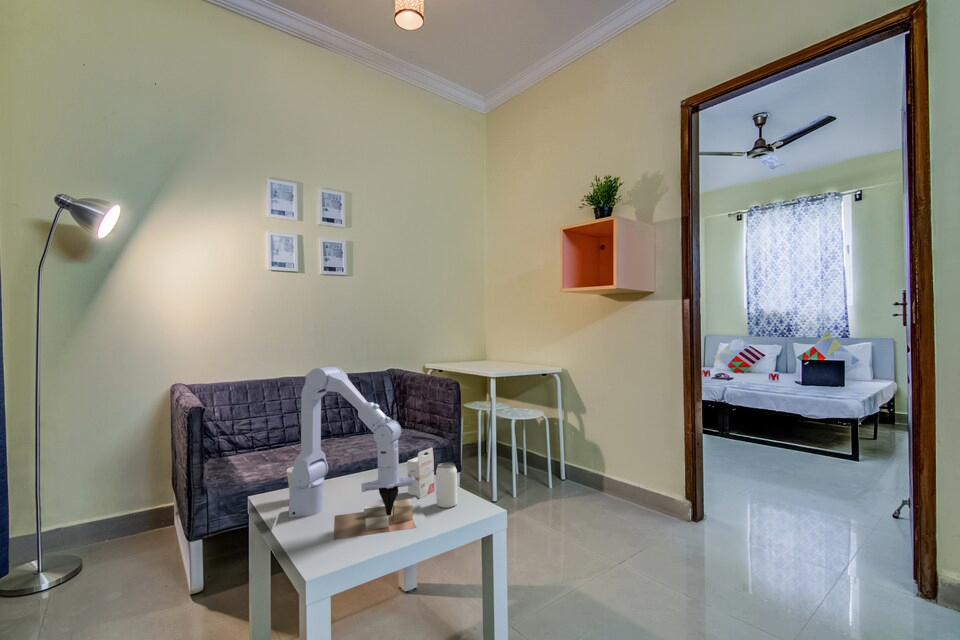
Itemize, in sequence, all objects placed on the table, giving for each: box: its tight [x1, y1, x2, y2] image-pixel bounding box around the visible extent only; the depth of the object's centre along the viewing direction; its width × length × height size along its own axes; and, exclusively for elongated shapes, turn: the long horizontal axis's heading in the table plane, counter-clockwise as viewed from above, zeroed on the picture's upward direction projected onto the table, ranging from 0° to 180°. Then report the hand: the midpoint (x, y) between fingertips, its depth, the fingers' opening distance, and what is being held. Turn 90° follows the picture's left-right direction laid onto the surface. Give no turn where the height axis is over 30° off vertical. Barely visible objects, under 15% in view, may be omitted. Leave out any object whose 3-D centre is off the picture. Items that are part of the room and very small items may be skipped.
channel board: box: [333, 503, 417, 541], centre depth 124 cm, size 21×16×4 cm
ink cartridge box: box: [406, 446, 435, 499], centre depth 148 cm, size 9×5×15 cm, turn 151°
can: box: [435, 462, 458, 509], centre depth 138 cm, size 6×6×12 cm
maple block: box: [392, 498, 414, 522], centre depth 126 cm, size 5×5×4 cm
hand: (388, 514), depth 125 cm, fingers closed
